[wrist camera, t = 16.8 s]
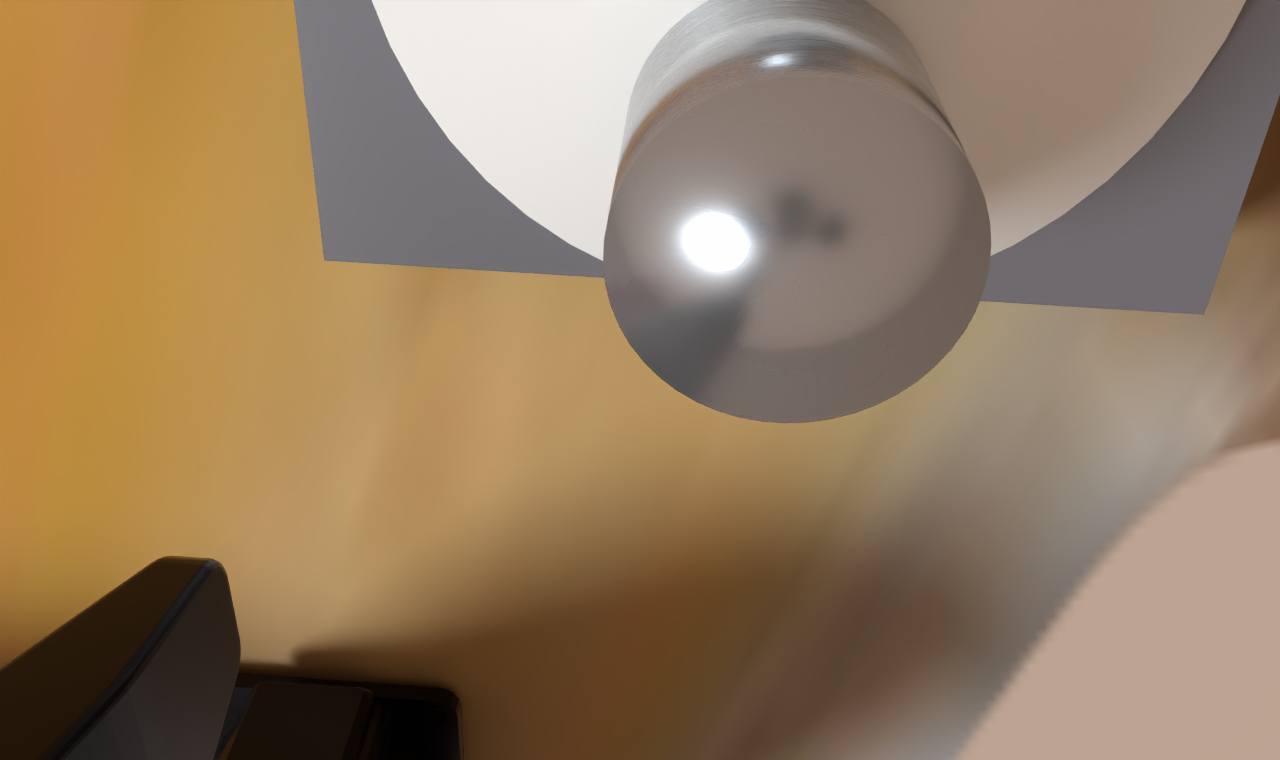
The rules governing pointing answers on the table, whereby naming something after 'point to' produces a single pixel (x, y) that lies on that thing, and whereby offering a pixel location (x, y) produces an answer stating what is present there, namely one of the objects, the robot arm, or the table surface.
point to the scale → (956, 64)
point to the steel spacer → (792, 212)
